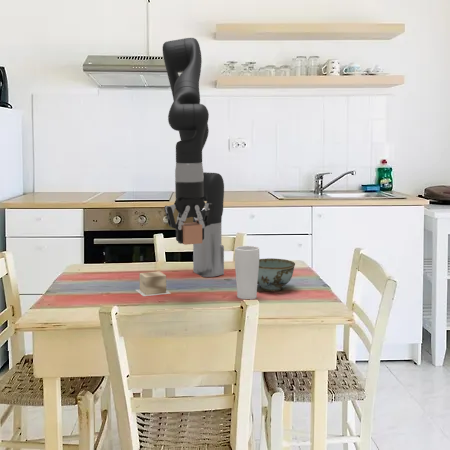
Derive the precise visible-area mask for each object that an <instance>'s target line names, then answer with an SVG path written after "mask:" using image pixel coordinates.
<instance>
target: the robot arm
mask: <svg viewBox="0 0 450 450" xmlns="http://www.w3.org/2000/svg"><path fill="white" fill-rule="evenodd" d="M162 56H163V61H164V67H165V70H166V74H167V78H168V83H169V87H170V90H171V95H172V98H173V102H172V103H171V105H170V108H169V112H168V116H167V118H168V119H167V120H168V121H167V122H168V125H169V126H170V128H171V129H172V130H174V131H177V132H179V138H180V140H179V141H177V142H176V144H175V169H174V172H175V173H174V174H175V175H174V177H175V178H174V179H175V180H174V182H175V189H174V191H175V192H174V193H175V201H174V203H173V204H171V205H165V206H164V212H165V215H166V219H167V225H168V226H169V228H172V229H175V240H176V242H178V244H183V230H182V228H183V224H184V223H185V222H186V221H187V219H189V218H192V223H193V222H196V223H198V224H201V225H202V243H199V244H192V252H193V255H192V260H193V261H192V263H193V268H192V269H193V273H194V274H196V275H198V276H200V277H203V278H207V277H208V278H210V277H211V278H212V277H218V276H222V275H225V247H224V245H223V244H222V221H223V220H222V219H223V213H224V200H225V199H224V198H225V183H224V178H223V176H222V175H221V174H220V173H217V172H204V167H203V149H204V148H205V145H206V142H207V140H208V136H209V124H208V123H209V117H210V116H209V110H208V108H207V107H206V106H205V105H204V104H202V103H201V95H200V78H201V71H202V63H203V61H202V60H203V59H202V51H201V47H200V43H199V41H198V39H196V38H195V37H185V38H179V39H175V40H173V39H172V40H168V41H164V43H163V44H162ZM179 73H180V74H179ZM175 209H176V211H177V212H178V213H177V217H176V221H175V216H174V213H175ZM183 245H184V244H183Z"/></svg>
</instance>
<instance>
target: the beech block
mask: <svg viewBox="0 0 450 450" xmlns="http://www.w3.org/2000/svg"><path fill="white" fill-rule="evenodd" d="M139 289H140V291H141V292H143V293H144V294H145V295H151V294H160V293H166V290H167V275H166V274H165V273H163V272H162V271H148V272H141V273H140V272H139Z"/></svg>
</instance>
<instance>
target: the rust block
mask: <svg viewBox="0 0 450 450" xmlns="http://www.w3.org/2000/svg"><path fill="white" fill-rule="evenodd" d="M182 230H183V245H185V246H187V245H193V244H199V243H202V225H201V224H198V223H196V222H193V221H192V222H186V223H185V222H184V224H183V228H182Z"/></svg>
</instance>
